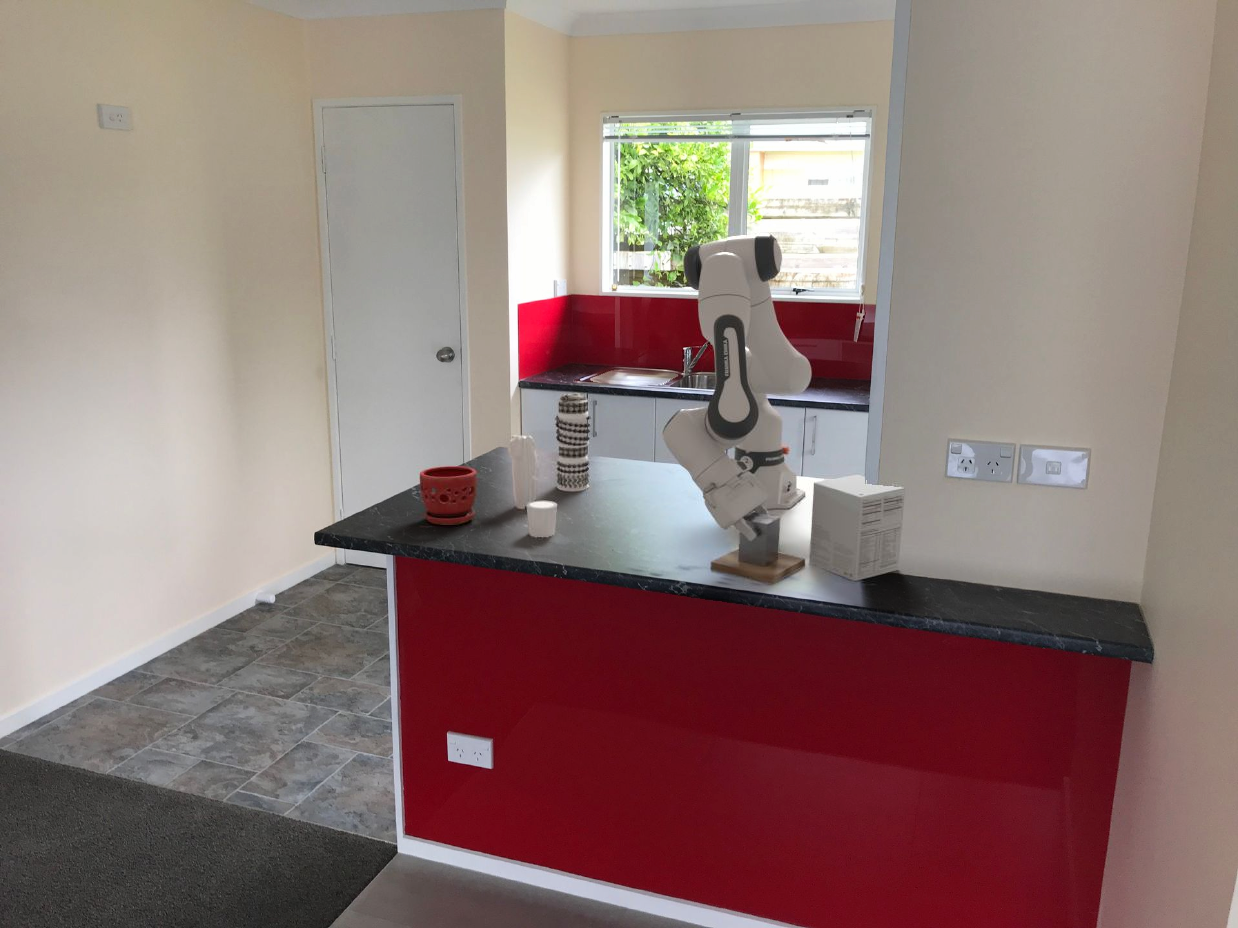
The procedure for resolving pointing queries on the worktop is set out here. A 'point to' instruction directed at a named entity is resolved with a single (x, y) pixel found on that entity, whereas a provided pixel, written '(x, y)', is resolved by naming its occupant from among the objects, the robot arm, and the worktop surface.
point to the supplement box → (856, 527)
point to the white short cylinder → (541, 518)
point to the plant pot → (448, 494)
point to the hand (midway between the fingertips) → (762, 531)
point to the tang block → (758, 567)
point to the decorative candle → (572, 442)
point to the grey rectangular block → (760, 540)
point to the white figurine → (524, 469)
